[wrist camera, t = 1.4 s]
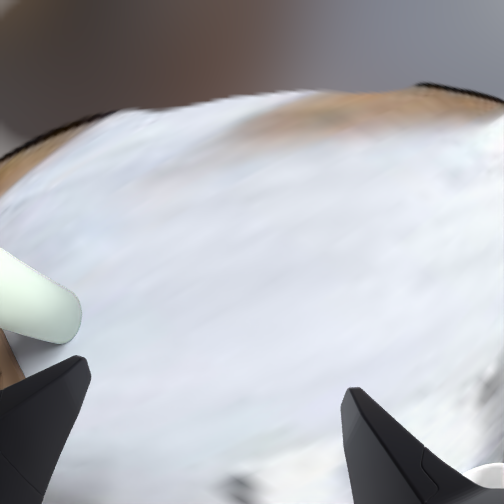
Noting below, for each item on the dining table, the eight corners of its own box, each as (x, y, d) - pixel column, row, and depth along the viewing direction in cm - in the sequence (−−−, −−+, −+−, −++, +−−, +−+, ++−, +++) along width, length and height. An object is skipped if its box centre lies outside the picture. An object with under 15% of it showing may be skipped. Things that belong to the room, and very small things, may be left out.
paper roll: (56, 355, 21) (-63, 324, 8) (32, 312, 23) (-72, 261, 9) (91, 319, 23) (-24, 262, 10) (64, 277, 24) (-35, 204, 11)
